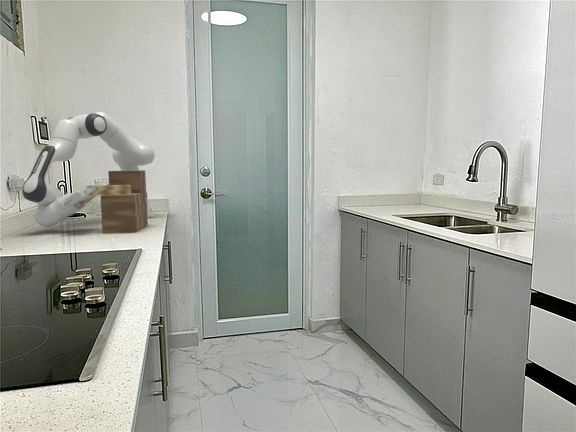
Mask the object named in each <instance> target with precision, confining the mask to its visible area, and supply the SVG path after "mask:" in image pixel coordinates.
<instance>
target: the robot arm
mask: <svg viewBox="0 0 576 432" xmlns="http://www.w3.org/2000/svg"><path fill="white" fill-rule="evenodd" d="M94 137H99V138H100V139H101V140H102V141H103V142H104V143H105V144H107V146H108V147H110V149H112V150H113V151H112V159H113V161H114V163H116V164H117V166H118V167H119V169H120V171H135V170H140V169H139V166H147V165H149V164H152V163H153V161H154V160H155V151H154V149H153V147H151V146H150V145H146V144H145V143H142V142H141V141H139V140H137V139H136V138H135V137H133V136H131V135H130V134H129V133H128V132H127V131H126V130H124V128H123V127H122V126H121V125H120V124H119V123H117V121H116V120H114V119H113V118H112V117H111V116H110V115H108V114H107V113H105V112H103V111H97V112H95V113H83V114H80V115H75V116H71V117H68V118H64V119H60V120H59V121H58V122H57V124H56V125H55V127H54V130H53V132H52V134H51V137H50V141H49V143H48V144H47V145H46V146H44V147H43V148H42V150H41V151H40V152H39V154H38V157H37V159H36V161H35V163H34V166H33V167H32V169H31V171H30V174H29V176H28V178H27V179H26V180H25V181H24V183H23V185H22V188H21V193H22V196H23V198H24V199H25V200H27V201H29V202H33V203H34V204H35V203H36V204H37V210H36V213H35V214H34V215H33V217H34V220H35V221H36V222H37V223H38V224H39V225H40V226H42V227H45V228H49V227H54V226H55V225H57V224H59V223H61V222H62V221H64V220H65V219H66V218H68V217H70V216H73V215H74V214H76V213H78V212H79V211H81V210H82V209H83V208H84V207H85V206H86V204H87V203H90V202H91V201H92V200H94V199H95V198H96V197H97V196H98V195H88V194H89V193H91V192H93V191H95V190H96V189H97V188H96V186H92V187H90V188H88V189H87V188H85V189H80V190H77V191H75V192H73V193H72V192H66V193H65V194H64V195H63V192H62V191H61V190H60V189H59V188H57V187H55V186H54V185H52V184H49V183H48V182H47V180H46V179H47V176H48V174H49V171H50V169H51V166H52V165H53V163H54V162H66V161H69V160H71V159H73V157H74V156H75V154H76V151H77V149H78V148H77V147H78V142H79V140H80V139H90V138H94ZM146 198H147V218H154V217H155V212H151V211H152V208H151V205H150V201H149V200H148V192H147V190H146Z"/></svg>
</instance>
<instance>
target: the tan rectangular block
mask: <svg viewBox="0 0 576 432" xmlns="http://www.w3.org/2000/svg"><path fill="white" fill-rule="evenodd" d="M92 186H96V188H97V189H96V190H95V191H93V192H91V193H89V194H88V195H97V196H101V195H130V194H131V185H109V184H107V185H104V184H103V185H102V184H99V185H98V184H95V185H86V186H85V187H86V188H85V189H88V188H90V187H92Z"/></svg>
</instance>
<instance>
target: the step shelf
mask: <svg viewBox="0 0 576 432" xmlns="http://www.w3.org/2000/svg"><path fill="white" fill-rule="evenodd" d="M146 178H147V177H146V170H140V169H139V170H135V171H121V170H108V185H131V194H130V195H99V197H100V211H101V228H102V231H101V232H102V234H121V233H122V234H123V233H124V234H126V233H127V234H128V233H129V234H130V233H138V232H139V231H141V230H142V229H144V228H146V227H147V226H148V225H149V224H148V223H149V221H148V217H147V199H148V197H147V198H146V191H147V182H146V181H147V179H146Z"/></svg>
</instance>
